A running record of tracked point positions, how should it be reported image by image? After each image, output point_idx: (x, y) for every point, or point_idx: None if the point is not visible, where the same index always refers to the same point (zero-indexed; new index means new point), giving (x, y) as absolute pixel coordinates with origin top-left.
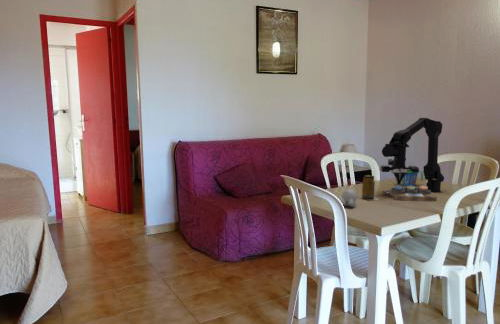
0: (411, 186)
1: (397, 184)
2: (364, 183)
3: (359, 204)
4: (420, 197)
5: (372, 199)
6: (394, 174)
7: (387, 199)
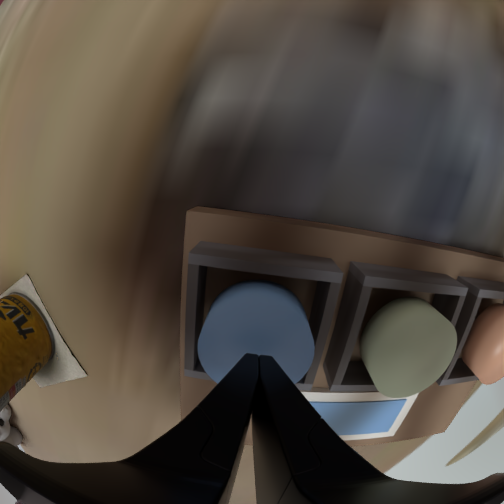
0: (416, 370)
1: (244, 355)
2: None
3: (24, 417)
4: (358, 443)
5: (50, 368)
6: (132, 475)
7: (134, 385)
